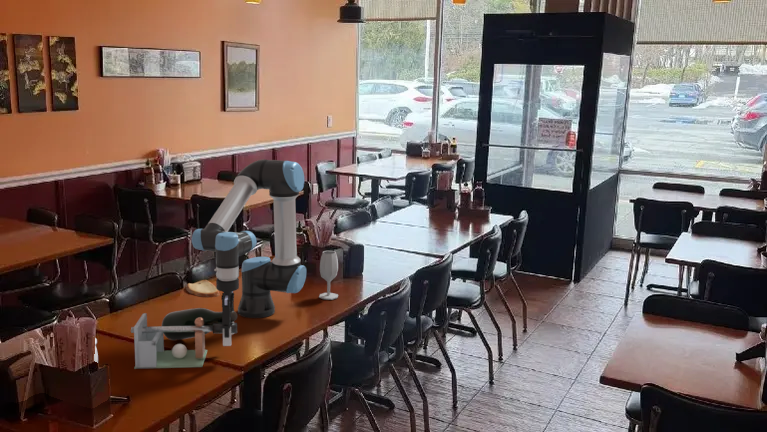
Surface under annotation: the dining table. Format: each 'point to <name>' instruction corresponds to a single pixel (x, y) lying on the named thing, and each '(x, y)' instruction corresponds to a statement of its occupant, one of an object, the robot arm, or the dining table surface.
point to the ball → (179, 351)
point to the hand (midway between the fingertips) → (228, 339)
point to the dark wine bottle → (192, 321)
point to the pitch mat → (177, 360)
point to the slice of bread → (203, 289)
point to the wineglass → (328, 272)
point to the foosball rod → (198, 330)
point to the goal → (146, 344)
